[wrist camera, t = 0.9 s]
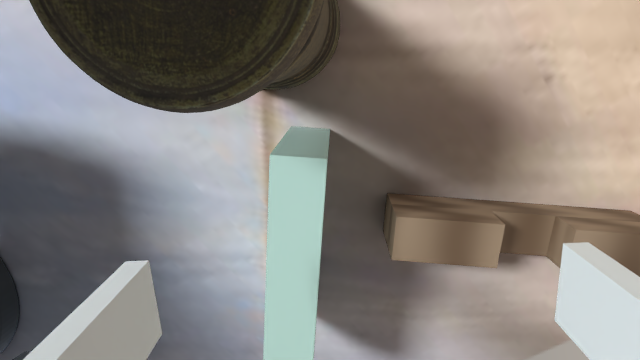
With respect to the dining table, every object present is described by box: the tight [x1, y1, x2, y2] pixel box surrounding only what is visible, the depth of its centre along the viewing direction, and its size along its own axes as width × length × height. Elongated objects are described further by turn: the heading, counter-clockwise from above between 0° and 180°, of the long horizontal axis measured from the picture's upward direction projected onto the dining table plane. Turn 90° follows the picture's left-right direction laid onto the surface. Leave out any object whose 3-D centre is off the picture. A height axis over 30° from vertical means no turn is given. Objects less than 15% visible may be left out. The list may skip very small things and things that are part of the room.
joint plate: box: [263, 126, 330, 360], centre depth 27 cm, size 14×3×10 cm, turn 176°
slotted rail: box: [383, 193, 640, 277], centre depth 28 cm, size 18×3×5 cm, turn 86°
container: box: [29, 0, 340, 113], centre depth 19 cm, size 9×9×18 cm
